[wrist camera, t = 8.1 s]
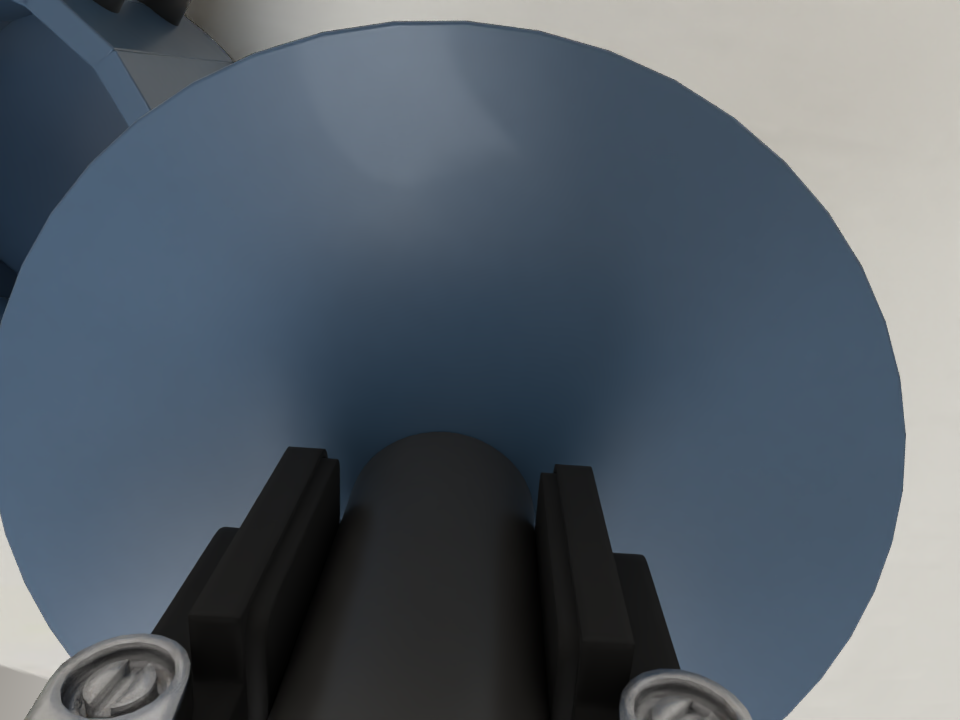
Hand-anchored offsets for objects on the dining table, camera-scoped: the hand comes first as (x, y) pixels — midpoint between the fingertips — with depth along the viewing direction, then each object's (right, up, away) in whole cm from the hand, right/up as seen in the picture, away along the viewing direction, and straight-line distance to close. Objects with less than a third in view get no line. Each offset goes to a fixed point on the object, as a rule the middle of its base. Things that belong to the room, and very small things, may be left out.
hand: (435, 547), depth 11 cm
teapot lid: (0, +1, +2) cm, 2 cm away
